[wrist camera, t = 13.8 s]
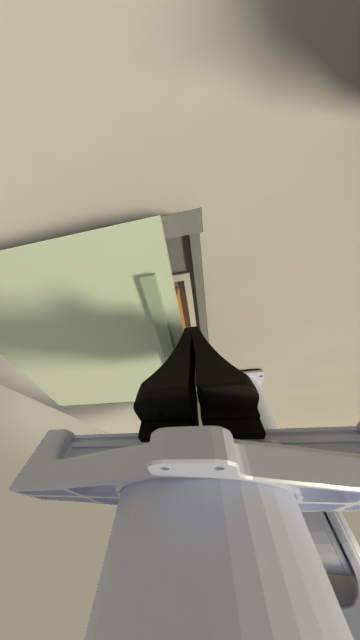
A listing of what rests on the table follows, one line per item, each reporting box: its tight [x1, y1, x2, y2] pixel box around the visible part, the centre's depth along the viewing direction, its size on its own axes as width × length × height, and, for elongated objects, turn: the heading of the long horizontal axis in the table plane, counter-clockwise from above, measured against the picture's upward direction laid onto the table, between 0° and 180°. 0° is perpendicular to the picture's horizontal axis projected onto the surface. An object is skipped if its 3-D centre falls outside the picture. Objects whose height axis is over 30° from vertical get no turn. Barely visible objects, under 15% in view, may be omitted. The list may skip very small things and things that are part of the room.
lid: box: [0, 215, 183, 406], centre depth 14 cm, size 18×18×1 cm
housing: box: [161, 208, 209, 392], centre depth 16 cm, size 18×21×5 cm
